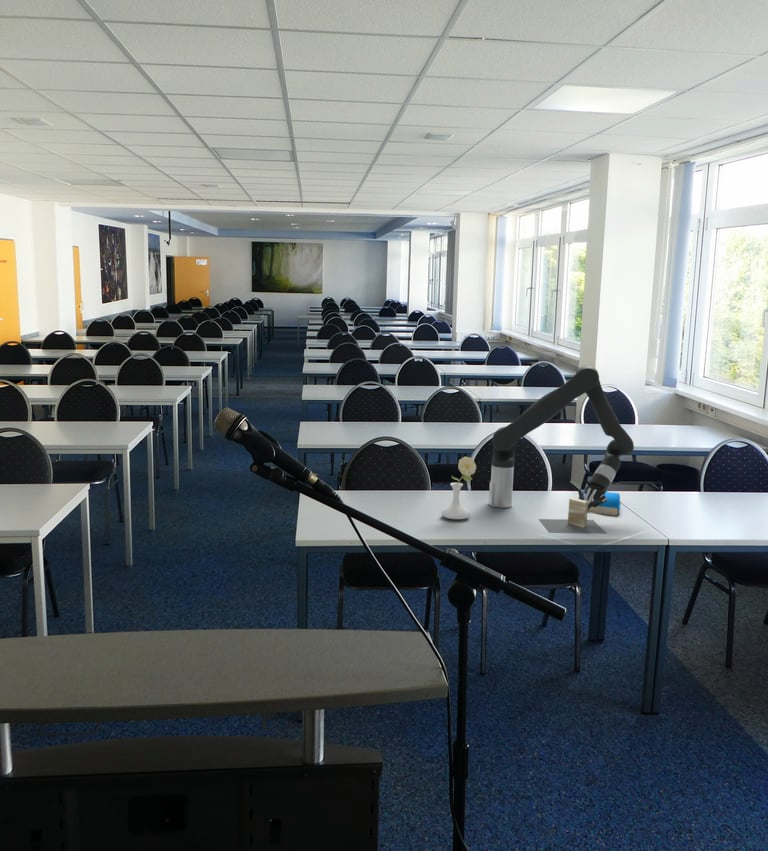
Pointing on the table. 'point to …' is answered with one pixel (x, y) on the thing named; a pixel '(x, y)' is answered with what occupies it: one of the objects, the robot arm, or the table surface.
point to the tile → (578, 512)
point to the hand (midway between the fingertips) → (582, 513)
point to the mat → (570, 526)
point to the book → (608, 504)
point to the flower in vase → (455, 507)
